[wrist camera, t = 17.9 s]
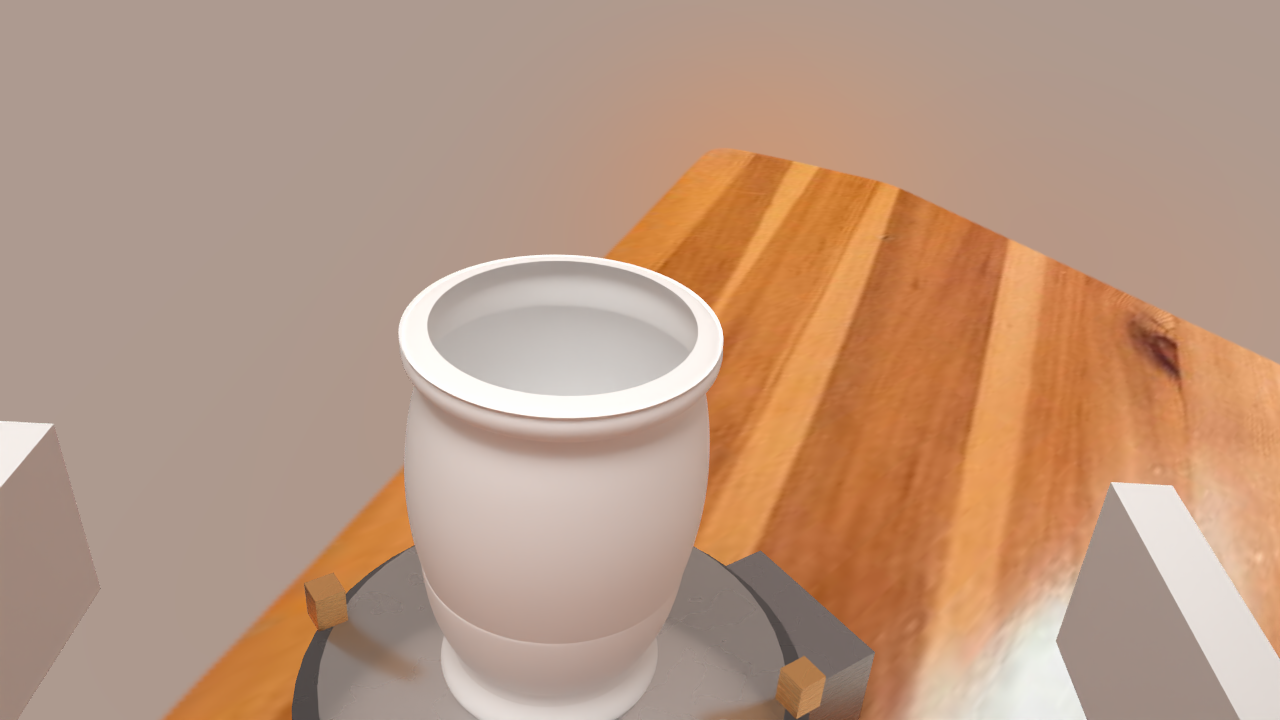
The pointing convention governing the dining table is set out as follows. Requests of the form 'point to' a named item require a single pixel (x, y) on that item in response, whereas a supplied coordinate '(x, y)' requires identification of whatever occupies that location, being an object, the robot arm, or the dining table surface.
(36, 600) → the robot arm
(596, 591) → the jar
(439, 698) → the cylinder
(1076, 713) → the dining table surface
